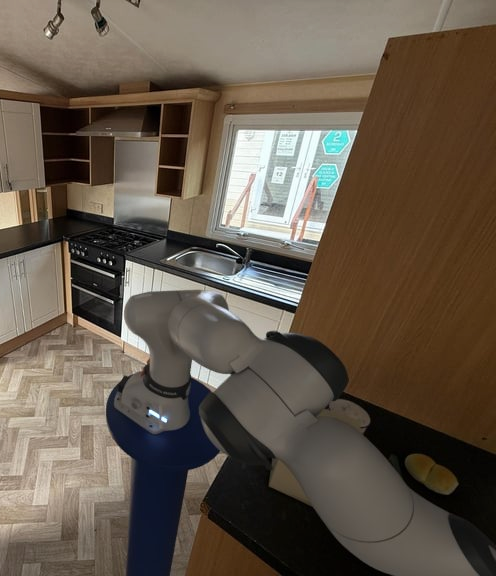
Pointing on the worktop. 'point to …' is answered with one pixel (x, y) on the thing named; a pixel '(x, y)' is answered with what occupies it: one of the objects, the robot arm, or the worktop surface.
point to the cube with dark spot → (283, 476)
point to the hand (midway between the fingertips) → (440, 527)
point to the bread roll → (431, 474)
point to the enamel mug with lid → (351, 412)
